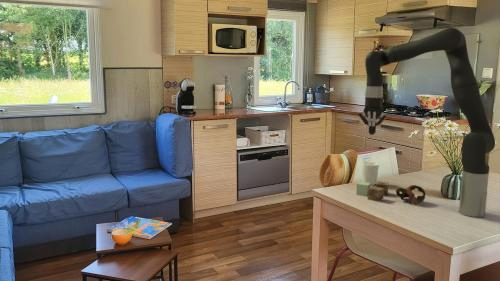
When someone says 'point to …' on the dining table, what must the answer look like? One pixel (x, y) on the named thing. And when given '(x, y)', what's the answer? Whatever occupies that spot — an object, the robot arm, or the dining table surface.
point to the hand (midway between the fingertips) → (371, 134)
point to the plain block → (363, 188)
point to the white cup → (370, 172)
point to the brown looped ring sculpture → (411, 194)
